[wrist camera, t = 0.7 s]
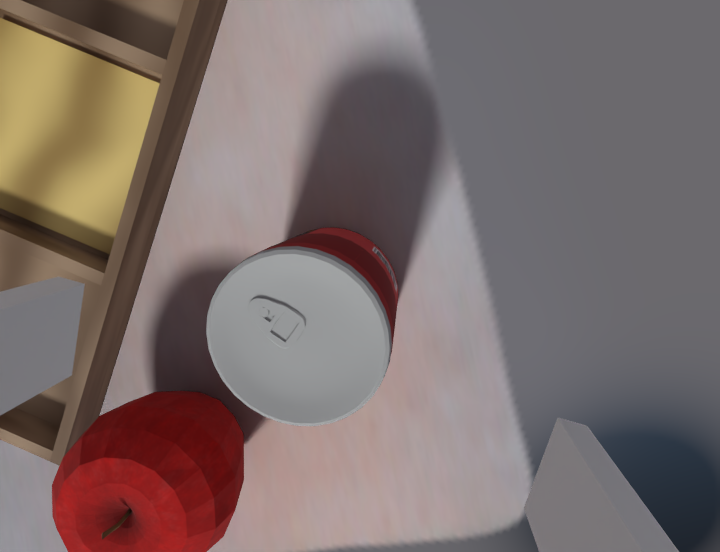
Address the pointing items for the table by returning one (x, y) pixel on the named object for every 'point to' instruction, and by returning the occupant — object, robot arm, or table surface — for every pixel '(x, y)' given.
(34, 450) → the caddy
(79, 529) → the apple
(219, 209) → the table surface
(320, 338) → the canned food
